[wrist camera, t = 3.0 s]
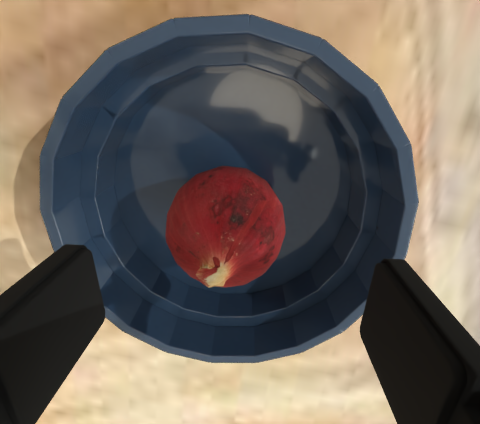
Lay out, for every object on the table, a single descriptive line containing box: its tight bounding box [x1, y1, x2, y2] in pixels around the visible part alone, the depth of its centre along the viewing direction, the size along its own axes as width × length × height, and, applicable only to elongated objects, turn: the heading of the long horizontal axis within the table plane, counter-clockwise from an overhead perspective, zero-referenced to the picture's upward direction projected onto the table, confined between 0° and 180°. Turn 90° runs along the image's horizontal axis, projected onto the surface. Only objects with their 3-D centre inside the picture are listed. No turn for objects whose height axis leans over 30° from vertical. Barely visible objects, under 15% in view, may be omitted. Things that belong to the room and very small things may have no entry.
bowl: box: [40, 14, 419, 363], centre depth 15 cm, size 17×17×5 cm
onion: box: [165, 166, 285, 288], centre depth 14 cm, size 6×6×8 cm
